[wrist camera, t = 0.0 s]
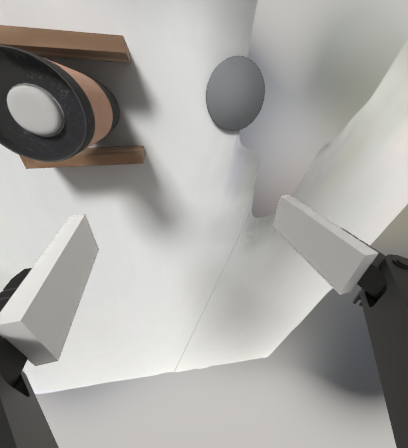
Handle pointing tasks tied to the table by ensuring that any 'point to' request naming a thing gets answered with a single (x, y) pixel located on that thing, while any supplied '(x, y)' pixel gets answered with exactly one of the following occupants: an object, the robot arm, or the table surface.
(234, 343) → the table surface
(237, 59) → the coaster
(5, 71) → the travel mug
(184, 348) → the table surface
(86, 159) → the frame
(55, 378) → the table surface
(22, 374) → the robot arm
